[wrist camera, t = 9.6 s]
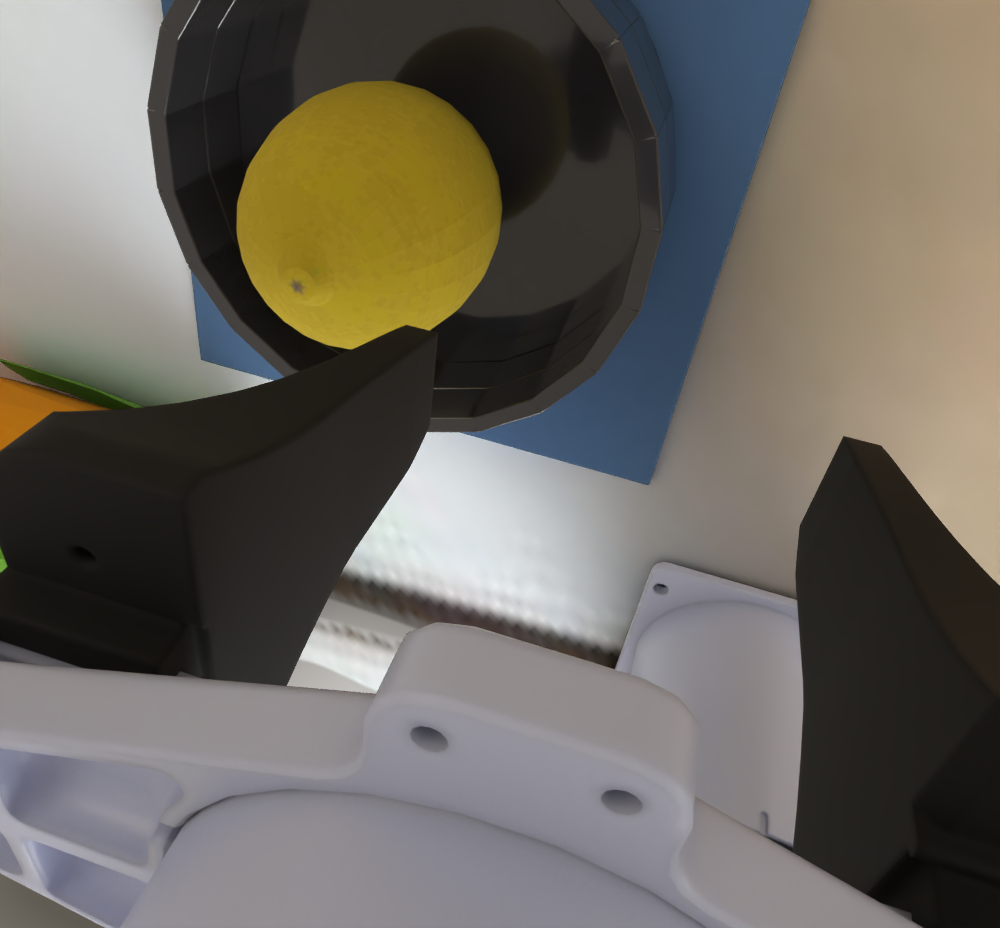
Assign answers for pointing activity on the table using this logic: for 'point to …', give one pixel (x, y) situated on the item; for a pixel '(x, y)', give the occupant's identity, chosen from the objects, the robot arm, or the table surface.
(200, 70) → the pan
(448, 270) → the lemon
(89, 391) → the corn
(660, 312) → the napkin
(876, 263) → the table surface
